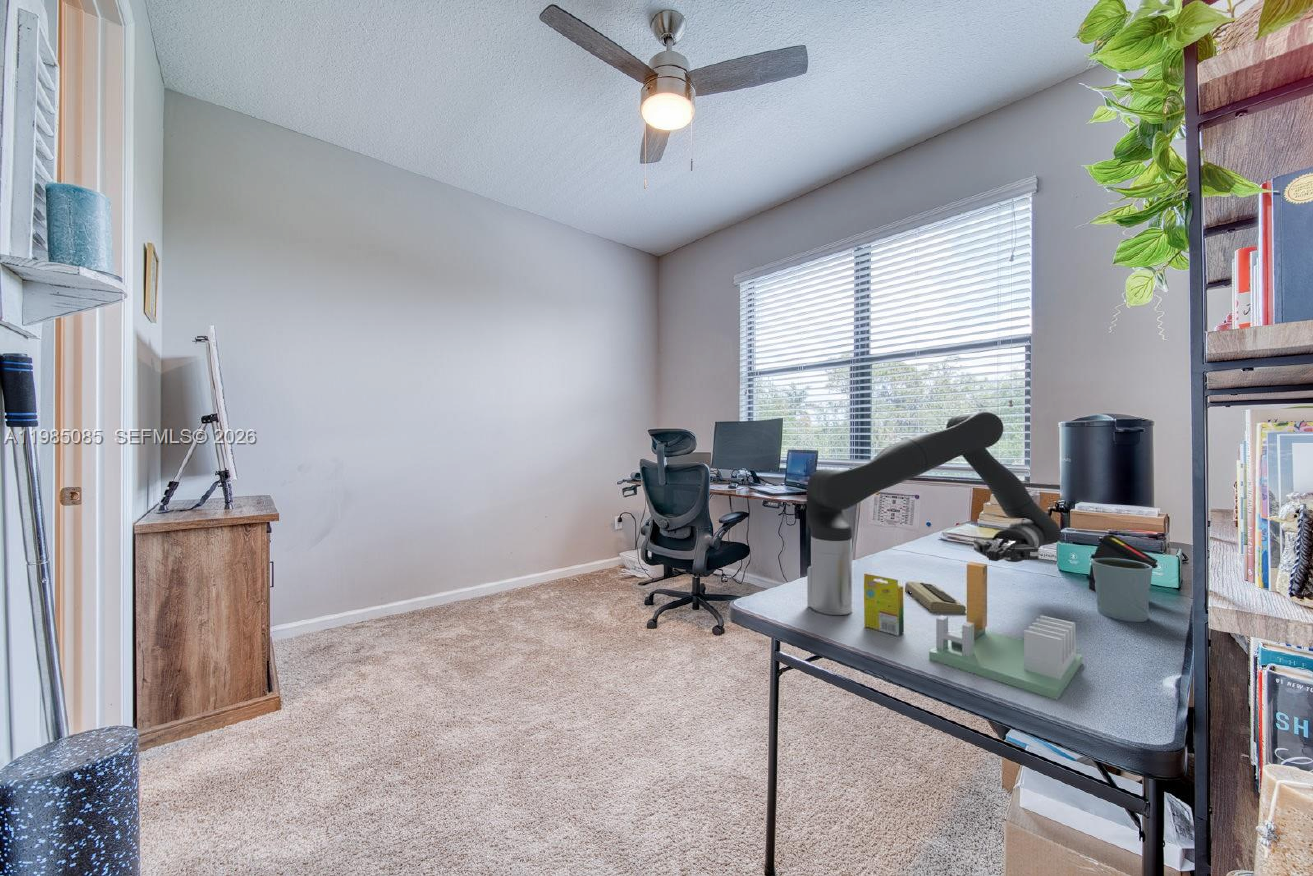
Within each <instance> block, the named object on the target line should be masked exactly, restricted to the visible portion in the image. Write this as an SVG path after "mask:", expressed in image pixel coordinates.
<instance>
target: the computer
mask: <svg viewBox="0 0 1313 876" xmlns="http://www.w3.org/2000/svg"><path fill="white" fill-rule="evenodd" d="M904 586H905V587H904V591H905V592H906V593H907V592H911V593H912V594H911V593H910V594H911V597H912V598H913V599H914V598H915V599H914V600H917V601H916V602H918V603H919V604H920V603H921V605H922V606H923V607H924V606H925V607H924V608H925V609H926V610H928V609H929V610H928V611H929V613H942V612H943V613H945V614H946V612H950V614H952V613H953V614H966V612H967V606H965V605H964V604H963V603H961V602H960V601H958V600H957V599H956V598H955V597H952V595H950V594H949V593H947V592H945V591H944V590H943V589H941V588H940V587H939V586H937V585H936V584H932V583H925V582H922V581H921V582H919V581H907V582H905V585H904Z"/></svg>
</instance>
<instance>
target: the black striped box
mask: <svg viewBox="0 0 1313 876" xmlns="http://www.w3.org/2000/svg"><path fill="white" fill-rule="evenodd" d="M1098 542H1099V544H1098V545H1097V547H1096V549H1095V552H1094V554H1091V555H1090V559H1091V560H1093V559H1095V558H1117V559H1126V560H1133V561H1138V562H1142V563H1146V564H1148V565H1150V566H1152V567H1153V568H1152V570H1153V569H1157V568H1158V566H1159V565H1158V564H1157V563H1158V560H1157V559H1156V558H1154V557H1153V556H1151V555H1149V554H1147V553H1145V552H1144V551H1142V550H1140V549H1138V548H1136V547H1135V546H1133V545H1132V544H1130V543H1127V542H1126V541H1124V540H1122V539H1121V538H1119V537H1118V536H1116V535H1114V534H1104V536H1103V537H1101V538H1099V539H1098ZM1086 580H1088V588H1089V590H1093V591H1096V589H1095V583H1096V582H1095V580H1094V573H1093V566H1092V563H1091V565H1090V570H1089V574H1086Z"/></svg>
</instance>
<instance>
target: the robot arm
mask: <svg viewBox="0 0 1313 876" xmlns="http://www.w3.org/2000/svg"><path fill="white" fill-rule="evenodd" d="M945 425H946V427H945V429H941V430H936V431H931V432H927V433H922V434H918V435H913V436H911V437H907V438H904V439H902V440H900V441H897V442H894V443H892V444H891V445H889V446H886V447H885V448H883V449H882V450H881V451H879V452H878V454H877V455H876V456H874V458H872V459H871V460H870V461H868V462H866V463H864V464H861V465H859V466H855V467H852V468H850V469H844V470H835V469H827V468H821V469H818V470H816V471H814V472H813V473H812V474H811V475H810V476H809V478H808V481H807V485H806V491H805V492H806V496H805V497H806V515H807V523H808V525H809V528H810V566H808V567H807V569H806V570H807V571H806V573H807V576H806V577H807V578H806V579H807V580H806V581H807V591H806V592H807V594H806V595H807V599H806V600H807V603H806V604H807V605H806V606H807V607H809V608H811V609H812V610H814V611H816V612H817V613H820V614H825V615H829V616H830V615H831V616H843V615H849V614H850V613H852V611H853V601H852V599H853V598H852V597H853V596H852V595H853V587H852V586H853V574H852V573H853V571H852V570H853V567H852V566H853V549H852V547H853V541H852V540H853V538H852V537H853V532H852V527H851V525H850V524H849V522H848V521H847V520H846V518H845V516H844V515H843V514H844V513H843V510H844V511H845V510H847V509H850V508H852V507H854V506H856V505H857V504H859V503H861V502H862V501H864V500H866V499H867V498H869V497H871V496H873V495H875V494H877V493H879V492H881V491H883V490H885V489H888V488H891V487H893V486H896V485H898V484H900V483H903V482H906V481H907V480H910V479H913V478H915V477H918V476H920V475H922V474H925V473H926V472H929V471H931V470H932V469H936V468H937V467H940V466H943V465H944V464H946V463H948V462H951V461H952V460H955V458H958V457H963V458H964V460H965V461H966V462H967V463H968V464H969V465H970V466H971V468H972V469H973V470H974V471H975V473H977V475H978V476H979V477H980V478H981V480H982V481H983V482H984V484H985V485H986V486H987V487H988V489H989V491H990V492H991V493H992V495H993V497H994V498H995V501H996V502H997V503H998V505H999V506H1000V509H1002V511H1003V513H1004V514H1005V515H1006V517H1008V518H1011V519H1022V520H1019V521H1014V522H1012V523H1010V525H1009V526H1008V527H1006V528H1003V529H1002V530H999V531H998V532H996V533H995V534H994V536H993V537H992V539H988V540H986V541H984V540H980V539H979V538H978V539H977V538H975V539H973V551H975V552H976V553H979V554H980V555H982V556H984V557H986V559H988V561H991V562H992V561H993V562H999V561H1001V560H1004V561H1006V562H1009V563H1019V562H1023V561H1032V560H1033V561H1036V560H1039V558H1040V557H1039V556H1040V555H1039V554H1040V553H1039V551H1040V550H1039V549H1040V548H1041V547H1042V546H1043V547H1044V546H1048V545H1053V544H1057V543H1058V542H1059V541H1060V540H1061V538H1062V531H1061V528H1060V526H1059V524H1058V523H1057V522H1056V521H1055V519H1053V518H1052V517H1051V516H1050V515H1049V514H1048V513H1047V512H1046V511H1044V510H1043V509H1042V508H1041V507H1040V506H1039V505H1038V504H1037V503H1036V502H1035V501H1034V499H1033V498H1032V496H1031V495H1030V493H1029V491H1028V490H1027V488H1026V486H1025V485H1024V484H1023V482H1022V480H1020V479H1019V478H1018V476H1017V475H1015V474H1014V473H1013V472H1012V471H1011V470H1010V469H1008V468H1007V467H1006V466H1004V464H1002V463H1001V462H1000V461H998V460H997V459H996V458H995V457H994V456H993V455H992V454H991V453H990V452H989V450H988V449H987V448H991V447H992V446H994V445H996V444H997V443H998V442H999V440H1000V439H1001V438H1002V436H1003V433H1004V422H1003V421H1002V420H1001V418H1000V417H999V416H998V415H996V414H994V413H992V412H989V411H982V410H981V411H980V410H979V411H973V412H966V413H959V414H955V415H953V416H952V417H950V419H949V420H948V421H947V423H946V424H945ZM1023 519H1024V520H1023Z"/></svg>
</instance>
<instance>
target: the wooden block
mask: <svg viewBox="0 0 1313 876" xmlns="http://www.w3.org/2000/svg"><path fill="white" fill-rule="evenodd" d="M966 622H970V623H974V641H975V640H977V639H978V638H979V637H980V636H982V635H983V634H984V633H985V630H986V628H987V626H988V564H986V563H979V562H975V561H970V562H968V563H966ZM960 633H961V634H962V631H961V632H960ZM951 646H954V647H958V648H961V649H962V644H960V643H957V642H953V641H951Z"/></svg>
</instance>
